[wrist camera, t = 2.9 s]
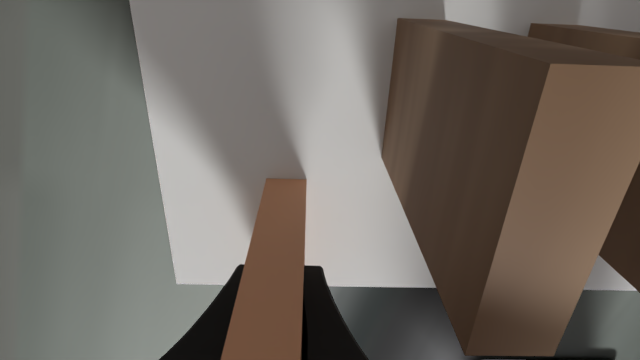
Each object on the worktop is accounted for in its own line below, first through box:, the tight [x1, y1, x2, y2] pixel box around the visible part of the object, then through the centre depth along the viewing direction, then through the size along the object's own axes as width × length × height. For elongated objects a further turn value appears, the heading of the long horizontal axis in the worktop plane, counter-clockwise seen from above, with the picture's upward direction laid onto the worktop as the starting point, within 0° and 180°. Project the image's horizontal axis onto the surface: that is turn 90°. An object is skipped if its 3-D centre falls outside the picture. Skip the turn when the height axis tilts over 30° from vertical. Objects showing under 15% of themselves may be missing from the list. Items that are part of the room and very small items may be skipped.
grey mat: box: [129, 0, 640, 291], centre depth 15 cm, size 16×30×1 cm, turn 88°
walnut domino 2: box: [527, 23, 640, 292], centre depth 10 cm, size 2×5×9 cm, turn 178°
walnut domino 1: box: [381, 18, 640, 356], centre depth 10 cm, size 2×5×9 cm, turn 177°
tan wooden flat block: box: [221, 178, 307, 360], centre depth 12 cm, size 2×5×9 cm, turn 178°
